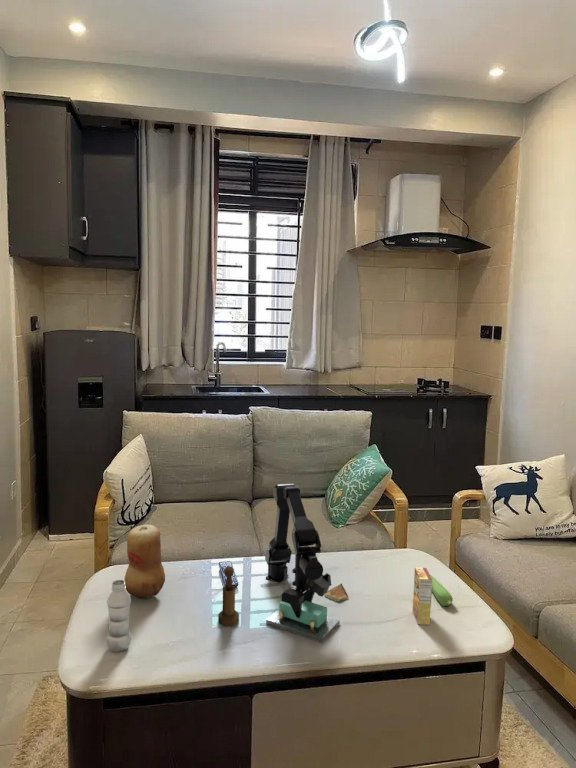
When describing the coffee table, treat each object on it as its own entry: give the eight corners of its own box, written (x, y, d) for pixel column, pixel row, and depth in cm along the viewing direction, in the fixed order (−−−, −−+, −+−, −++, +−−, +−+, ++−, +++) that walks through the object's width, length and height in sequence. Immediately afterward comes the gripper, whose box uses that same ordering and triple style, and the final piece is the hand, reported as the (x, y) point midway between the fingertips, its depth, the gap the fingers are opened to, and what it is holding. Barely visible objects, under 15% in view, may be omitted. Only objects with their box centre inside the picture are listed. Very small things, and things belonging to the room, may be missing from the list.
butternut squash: (116, 601, 193) (115, 530, 190) (140, 584, 205) (139, 517, 202) (150, 609, 187) (149, 536, 185) (173, 592, 200) (172, 523, 197)
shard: (341, 587, 207) (341, 582, 207) (358, 593, 202) (359, 589, 202) (323, 597, 199) (323, 592, 199) (341, 604, 194) (341, 599, 194)
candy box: (411, 610, 190) (413, 567, 188) (424, 611, 190) (426, 567, 188) (417, 624, 181) (419, 578, 179) (430, 625, 181) (433, 579, 179)
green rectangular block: (279, 614, 181) (279, 602, 181) (289, 607, 186) (289, 595, 186) (317, 627, 174) (318, 615, 173) (326, 619, 179) (327, 607, 178)
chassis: (266, 623, 180) (266, 610, 179) (285, 607, 190) (285, 595, 190) (322, 642, 170) (322, 628, 170) (339, 624, 180) (339, 611, 180)
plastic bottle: (109, 642, 168) (108, 577, 166) (133, 641, 168) (132, 577, 166) (104, 655, 161) (103, 588, 159) (129, 654, 162) (128, 587, 160)
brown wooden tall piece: (242, 618, 183) (242, 564, 181) (233, 628, 177) (234, 573, 175) (223, 614, 185) (223, 561, 183) (214, 624, 179) (214, 569, 177)
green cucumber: (440, 597, 191) (452, 593, 191) (421, 573, 211) (432, 569, 211) (443, 611, 191) (456, 607, 192) (424, 586, 211) (435, 582, 212)
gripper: (313, 583, 166) (311, 634, 168) (340, 561, 182) (338, 607, 184) (280, 574, 172) (279, 623, 173) (309, 553, 188) (308, 598, 189)
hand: (303, 613), depth 180 cm, fingers closed on green rectangular block, 6 cm apart
